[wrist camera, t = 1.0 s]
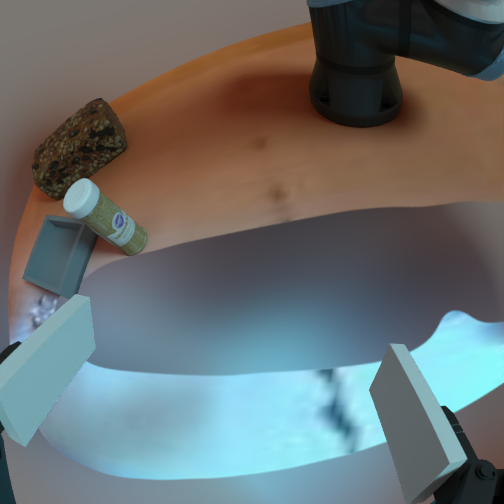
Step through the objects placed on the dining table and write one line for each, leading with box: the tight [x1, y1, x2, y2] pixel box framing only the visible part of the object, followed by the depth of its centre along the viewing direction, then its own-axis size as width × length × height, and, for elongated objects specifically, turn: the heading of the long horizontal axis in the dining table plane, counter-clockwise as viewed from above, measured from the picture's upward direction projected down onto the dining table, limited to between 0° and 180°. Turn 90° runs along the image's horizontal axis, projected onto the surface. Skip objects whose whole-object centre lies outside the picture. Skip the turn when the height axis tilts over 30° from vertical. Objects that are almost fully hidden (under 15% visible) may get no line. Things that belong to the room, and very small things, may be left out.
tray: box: [22, 215, 98, 299], centre depth 43 cm, size 12×12×4 cm
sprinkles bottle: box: [63, 178, 147, 256], centre depth 36 cm, size 5×5×13 cm
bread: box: [32, 98, 127, 200], centre depth 49 cm, size 19×11×10 cm, turn 116°
